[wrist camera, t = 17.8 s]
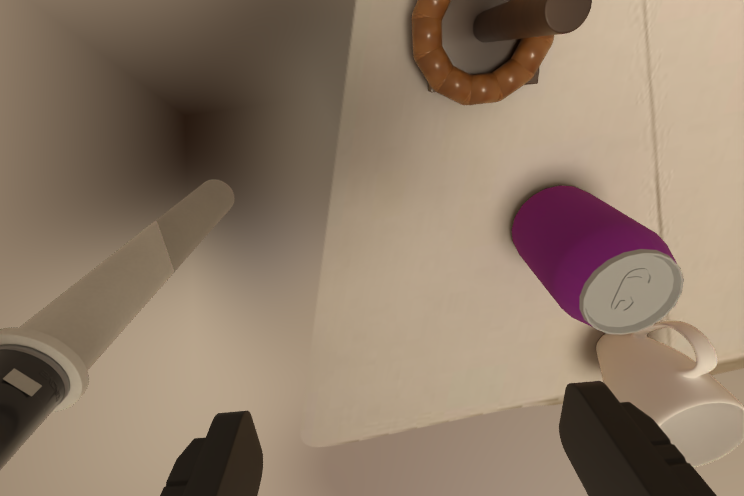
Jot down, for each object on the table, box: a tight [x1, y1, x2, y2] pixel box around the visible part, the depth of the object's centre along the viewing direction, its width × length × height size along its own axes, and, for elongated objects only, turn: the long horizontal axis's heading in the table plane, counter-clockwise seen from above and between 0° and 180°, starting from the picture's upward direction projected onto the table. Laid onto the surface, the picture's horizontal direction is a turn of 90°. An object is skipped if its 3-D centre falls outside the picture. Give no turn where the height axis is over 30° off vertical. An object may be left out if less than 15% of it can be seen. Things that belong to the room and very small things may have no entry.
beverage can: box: [512, 185, 684, 335], centre depth 30 cm, size 8×8×12 cm
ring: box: [412, 0, 554, 105], centre depth 26 cm, size 10×10×2 cm
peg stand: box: [428, 0, 592, 92], centre depth 22 cm, size 8×8×13 cm
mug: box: [596, 321, 744, 467], centre depth 36 cm, size 12×8×11 cm
